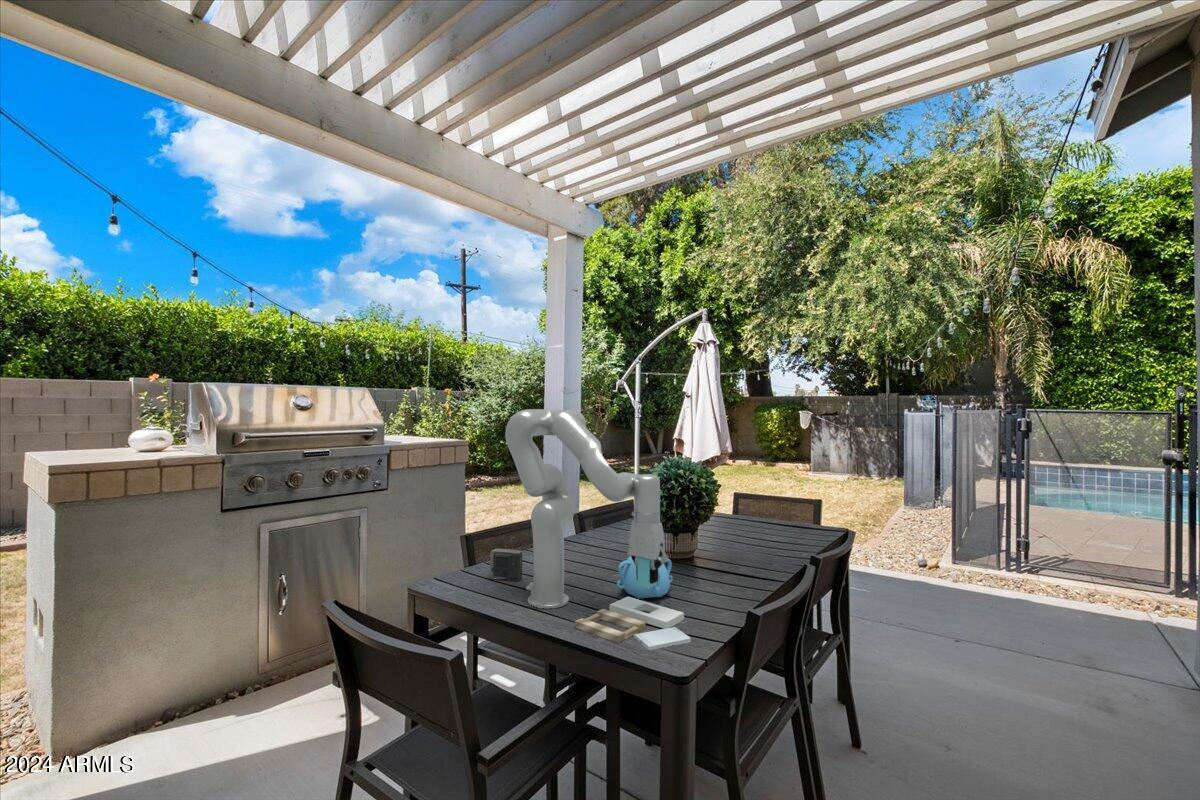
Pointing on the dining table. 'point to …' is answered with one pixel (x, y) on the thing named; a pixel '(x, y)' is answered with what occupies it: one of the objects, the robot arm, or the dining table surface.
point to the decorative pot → (641, 592)
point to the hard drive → (662, 638)
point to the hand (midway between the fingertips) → (647, 580)
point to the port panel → (657, 616)
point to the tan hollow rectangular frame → (609, 633)
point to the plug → (644, 573)
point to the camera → (506, 564)
